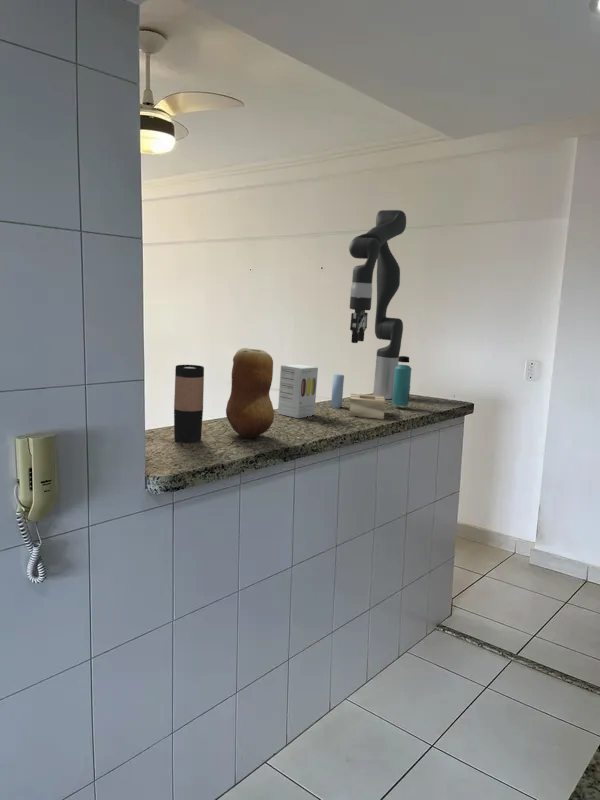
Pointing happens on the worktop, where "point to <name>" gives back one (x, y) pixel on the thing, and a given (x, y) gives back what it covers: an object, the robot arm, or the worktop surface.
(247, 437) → the butternut squash
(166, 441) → the worktop surface
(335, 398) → the peg
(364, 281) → the robot arm
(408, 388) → the beverage bottle
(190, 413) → the travel mug
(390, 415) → the worktop surface
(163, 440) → the worktop surface
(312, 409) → the supplement box
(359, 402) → the socket block
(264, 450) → the worktop surface
